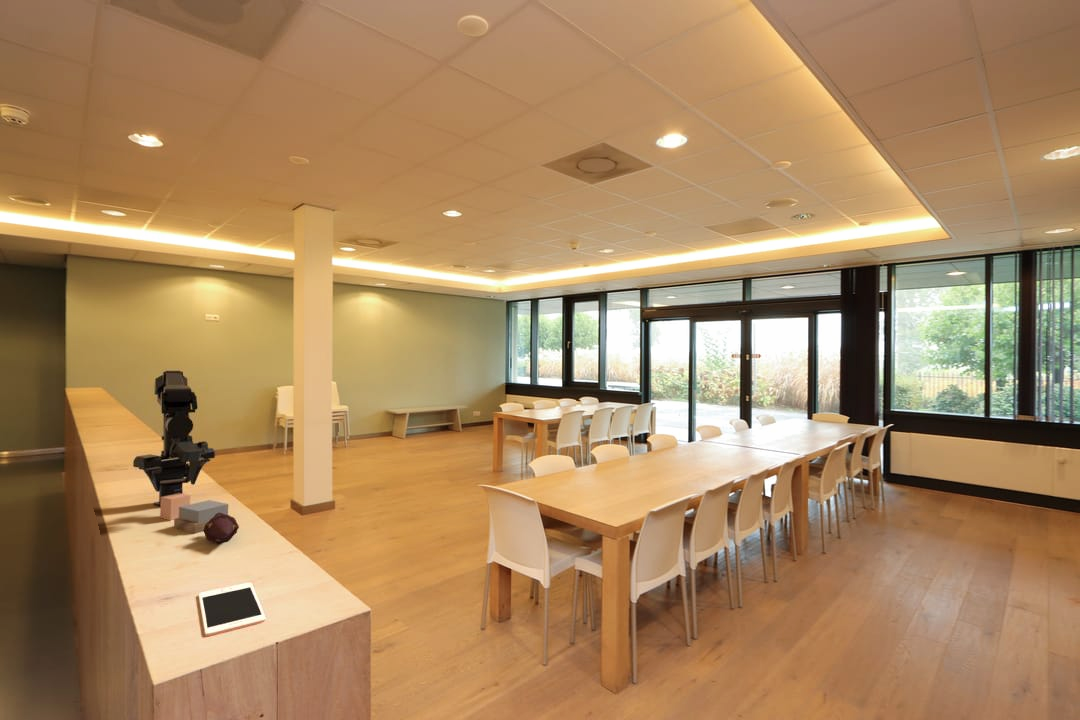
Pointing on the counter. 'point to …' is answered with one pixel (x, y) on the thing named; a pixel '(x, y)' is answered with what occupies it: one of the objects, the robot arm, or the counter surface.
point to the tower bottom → (189, 525)
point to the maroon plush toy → (220, 528)
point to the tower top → (202, 511)
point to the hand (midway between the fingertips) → (175, 487)
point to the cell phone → (230, 609)
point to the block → (173, 505)
